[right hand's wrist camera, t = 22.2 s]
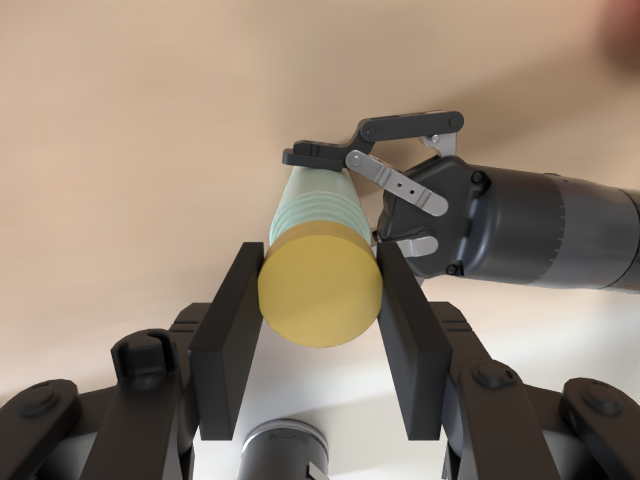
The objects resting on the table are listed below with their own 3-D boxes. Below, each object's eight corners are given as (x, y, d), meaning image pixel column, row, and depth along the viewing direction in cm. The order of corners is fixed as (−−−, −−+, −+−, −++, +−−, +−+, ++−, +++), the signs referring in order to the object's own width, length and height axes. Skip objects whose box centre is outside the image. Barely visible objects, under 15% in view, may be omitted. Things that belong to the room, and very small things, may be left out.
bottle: (292, 148, 30) (255, 215, 13) (353, 155, 30) (397, 229, 13) (288, 208, 31) (251, 336, 15) (346, 214, 32) (376, 346, 15)
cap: (375, 214, 14) (382, 229, 12) (379, 318, 15) (386, 343, 14) (254, 224, 14) (246, 240, 12) (271, 326, 16) (265, 352, 14)
